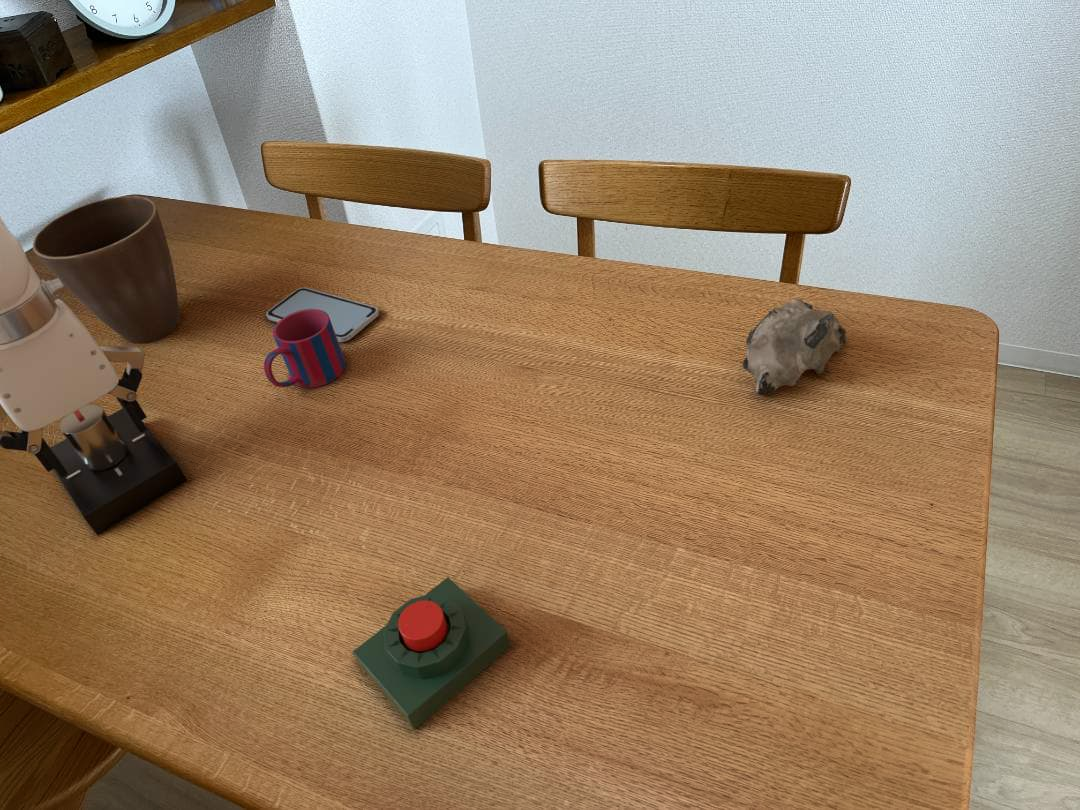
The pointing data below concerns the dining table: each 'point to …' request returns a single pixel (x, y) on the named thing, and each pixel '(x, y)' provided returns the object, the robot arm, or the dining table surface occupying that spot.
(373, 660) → the block
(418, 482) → the dining table surface
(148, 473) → the panel
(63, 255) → the flower pot
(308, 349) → the mug
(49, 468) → the robot arm
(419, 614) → the button
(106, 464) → the hob knob
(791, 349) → the decorative stone
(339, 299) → the smartphone
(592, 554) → the dining table surface
